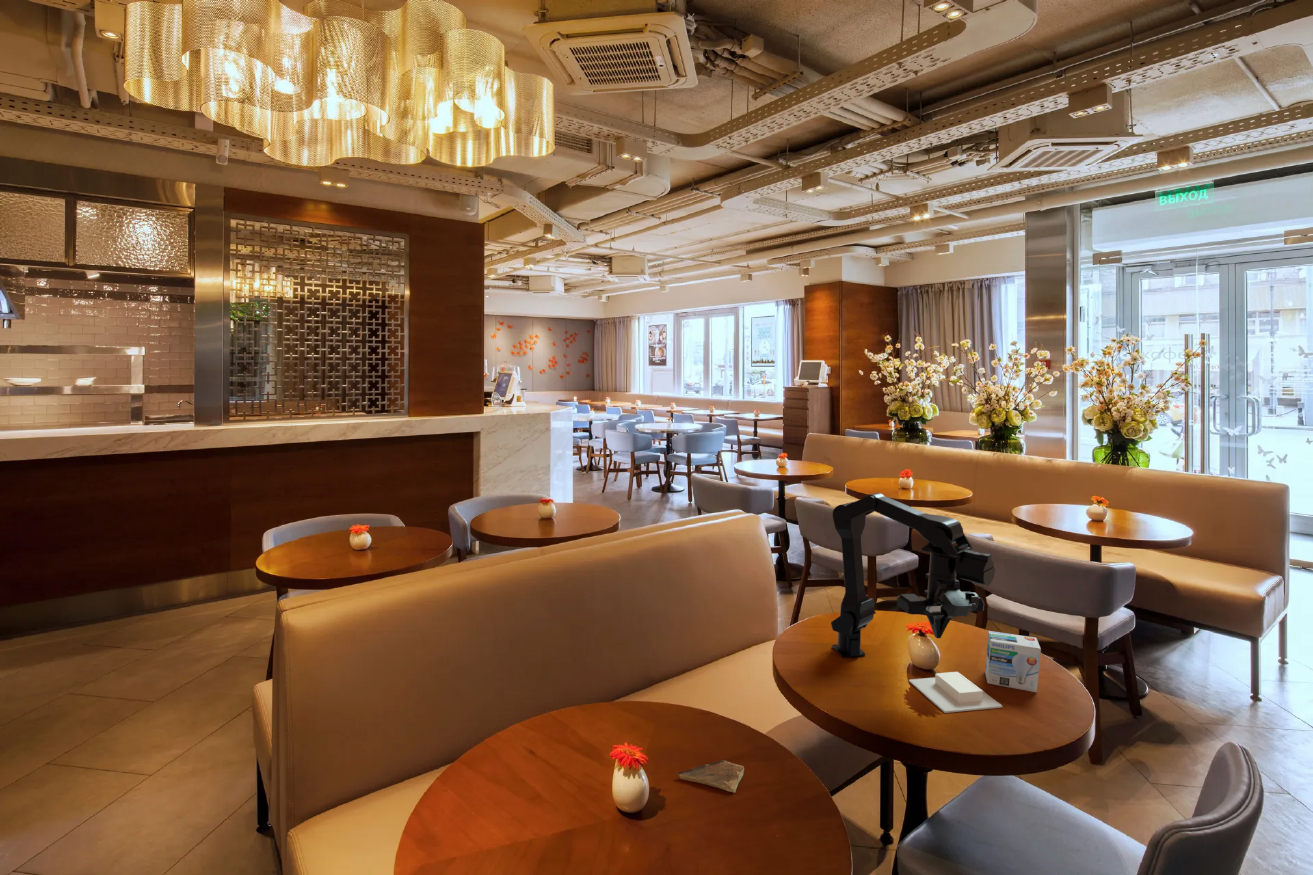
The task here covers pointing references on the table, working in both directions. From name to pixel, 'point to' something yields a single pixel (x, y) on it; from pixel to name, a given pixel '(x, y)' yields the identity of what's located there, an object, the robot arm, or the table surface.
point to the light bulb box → (1012, 661)
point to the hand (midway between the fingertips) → (937, 637)
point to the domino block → (959, 687)
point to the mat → (946, 700)
